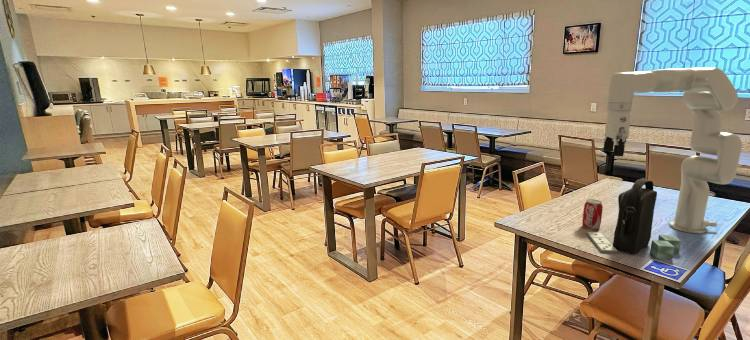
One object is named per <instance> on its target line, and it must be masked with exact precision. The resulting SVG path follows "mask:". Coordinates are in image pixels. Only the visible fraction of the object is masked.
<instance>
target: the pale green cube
mask: <svg viewBox="0 0 750 340" xmlns="http://www.w3.org/2000/svg"><path fill="white" fill-rule="evenodd" d="M657 240H658V241H668V242H669V243H670V244H672V245H673V246H674V253H673V254H679V253H680V249H681V244H682V240H680V239H679V238H678V237H677V236H675V235H672V234H671V235H669V234H659V235H658V239H657Z"/></svg>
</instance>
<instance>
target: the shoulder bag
mask: <svg viewBox="0 0 750 340" xmlns="http://www.w3.org/2000/svg"><path fill="white" fill-rule="evenodd" d="M643 186H645V187H643ZM657 197H658V192H657V191H656V190H654V181H652V180H649V179H646V178H644V177H642V178H638V179H636V181H635V182H634V183H633V185H632V186H631V188H630V189H628V190H625V191H623V192H621V193H619V195H618V197H617V201H618V215H617V222H616V225H615V228H614V229H615V230H614V232H613V233H614V235H613V241H612V245H613V247H615V248H616V250H617V251H618V252H621V253H625V254H629V255H632V256H634V255H637V254H638V253H640V252H641V251H643V250H644V249H645V248H648V247H649V244H650V241H651V238H652V229H653V221H654V214H655V207H656V202H657Z"/></svg>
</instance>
